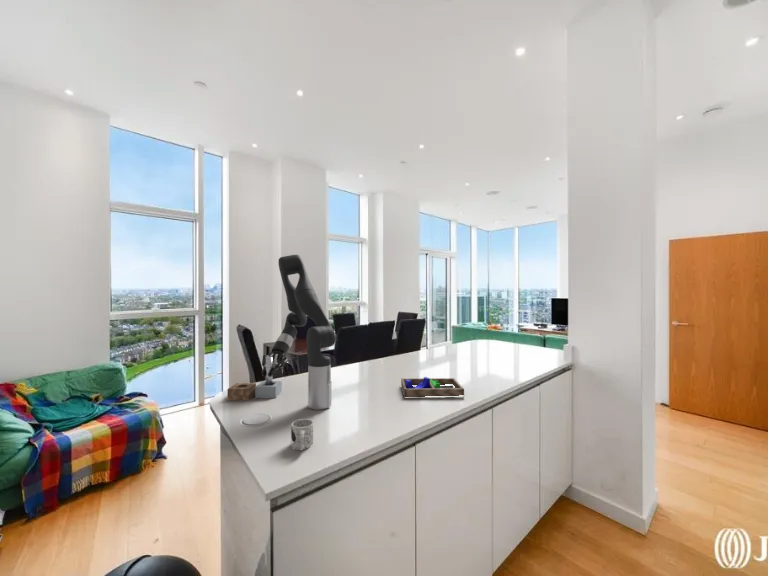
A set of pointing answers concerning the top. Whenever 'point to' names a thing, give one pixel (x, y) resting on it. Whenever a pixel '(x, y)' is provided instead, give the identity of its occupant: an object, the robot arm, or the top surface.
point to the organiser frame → (432, 388)
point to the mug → (301, 434)
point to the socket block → (268, 390)
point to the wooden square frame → (241, 391)
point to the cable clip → (423, 385)
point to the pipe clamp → (435, 384)
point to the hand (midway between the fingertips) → (266, 375)
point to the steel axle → (268, 366)
